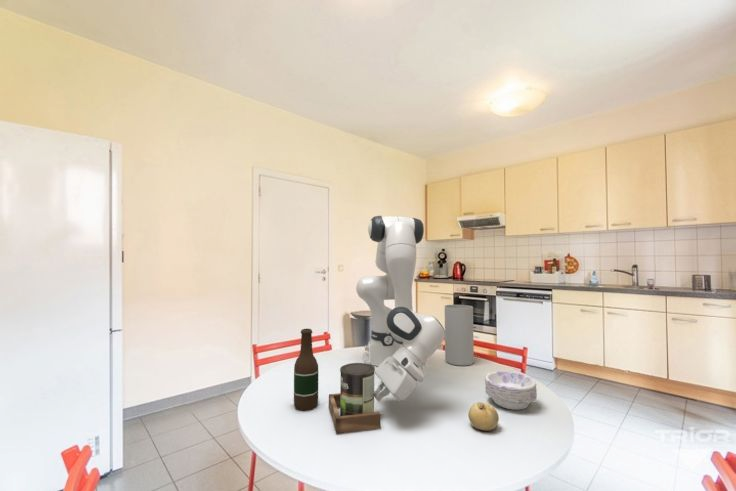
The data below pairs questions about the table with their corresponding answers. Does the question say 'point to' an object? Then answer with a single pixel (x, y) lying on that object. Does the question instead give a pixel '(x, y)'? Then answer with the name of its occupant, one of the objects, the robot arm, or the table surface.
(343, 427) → the caddy
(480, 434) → the table surface
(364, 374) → the coffee can
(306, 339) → the beer bottle
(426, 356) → the robot arm
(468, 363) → the cylinder vase
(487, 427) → the onion
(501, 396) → the paper bowls
